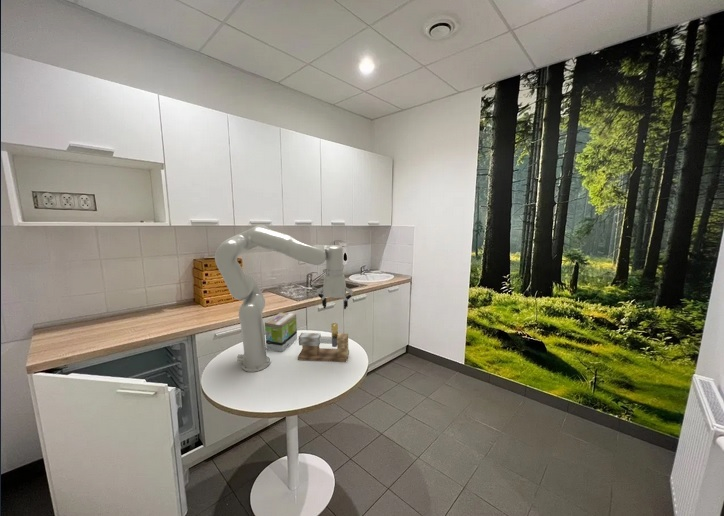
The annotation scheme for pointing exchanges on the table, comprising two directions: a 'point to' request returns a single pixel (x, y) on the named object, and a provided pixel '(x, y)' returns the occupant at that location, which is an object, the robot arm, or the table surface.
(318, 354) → the base
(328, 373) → the table surface
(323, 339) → the brass knob sliding bolt
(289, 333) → the tea box
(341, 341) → the socket block
